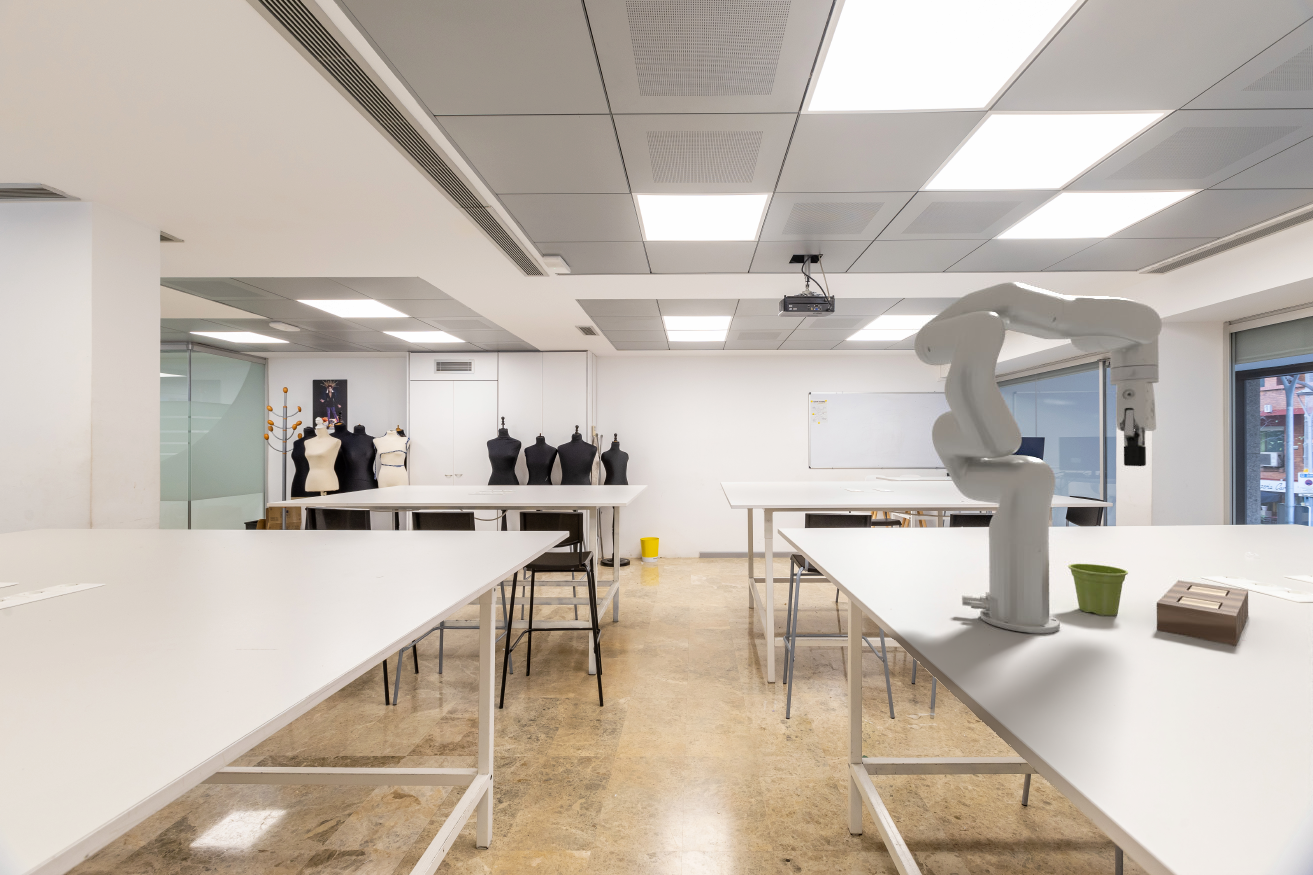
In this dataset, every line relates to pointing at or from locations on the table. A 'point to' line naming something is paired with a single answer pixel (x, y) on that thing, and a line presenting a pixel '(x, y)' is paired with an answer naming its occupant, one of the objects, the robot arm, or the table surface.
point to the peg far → (1209, 590)
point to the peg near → (1200, 602)
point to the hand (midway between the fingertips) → (1134, 465)
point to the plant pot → (1098, 587)
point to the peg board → (1203, 613)
